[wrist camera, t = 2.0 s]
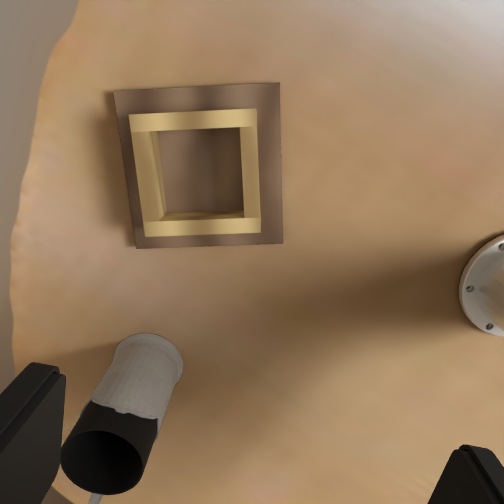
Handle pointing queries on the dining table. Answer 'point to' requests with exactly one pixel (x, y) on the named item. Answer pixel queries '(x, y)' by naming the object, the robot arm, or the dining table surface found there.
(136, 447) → the grey and black mug
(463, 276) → the robot arm
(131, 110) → the socket base
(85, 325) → the dining table surface
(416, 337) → the dining table surface
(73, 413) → the dining table surface
